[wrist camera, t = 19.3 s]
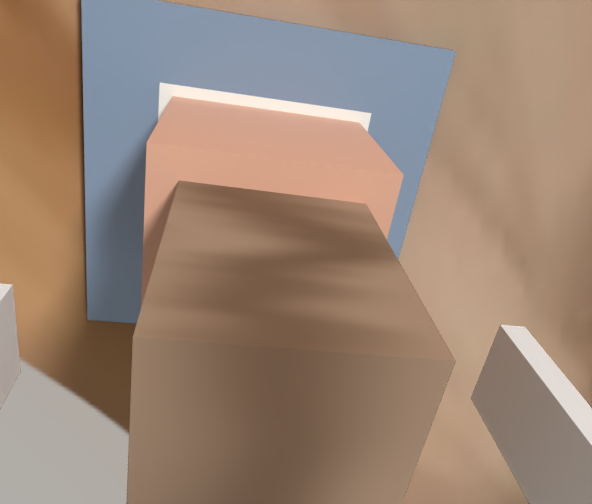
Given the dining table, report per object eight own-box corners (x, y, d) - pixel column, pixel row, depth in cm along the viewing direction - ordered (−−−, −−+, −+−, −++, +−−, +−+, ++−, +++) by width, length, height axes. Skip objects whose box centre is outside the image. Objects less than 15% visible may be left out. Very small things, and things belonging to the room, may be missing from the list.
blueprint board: (450, 49, 23) (456, 51, 22) (372, 334, 29) (375, 341, 29) (85, -12, 20) (80, -12, 20) (90, 312, 27) (87, 320, 26)
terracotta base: (359, 122, 23) (403, 174, 17) (325, 279, 27) (352, 371, 20) (172, 96, 22) (146, 142, 16) (163, 264, 25) (139, 357, 19)
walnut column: (366, 203, 17) (455, 361, 10) (330, 350, 20) (381, 557, 13) (178, 180, 16) (133, 336, 9) (167, 338, 19) (124, 554, 12)
